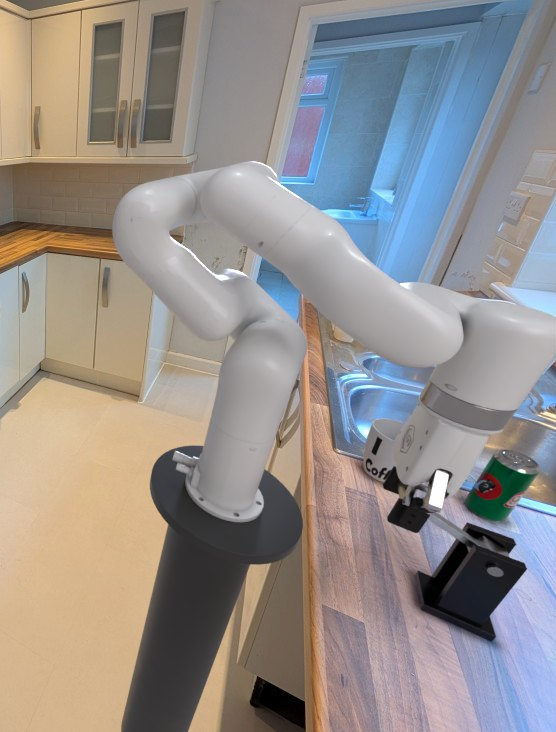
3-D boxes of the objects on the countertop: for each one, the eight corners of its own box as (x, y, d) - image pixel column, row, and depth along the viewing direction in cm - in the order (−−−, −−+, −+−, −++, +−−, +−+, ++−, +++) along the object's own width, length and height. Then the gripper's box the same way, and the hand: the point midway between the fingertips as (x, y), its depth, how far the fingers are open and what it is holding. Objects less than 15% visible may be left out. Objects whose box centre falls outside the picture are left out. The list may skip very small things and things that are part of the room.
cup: (349, 471, 82) (367, 430, 78) (359, 452, 87) (377, 412, 83) (403, 497, 76) (427, 454, 72) (411, 474, 81) (433, 433, 77)
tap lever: (396, 514, 56) (411, 505, 55) (391, 485, 61) (405, 476, 59) (498, 584, 52) (518, 577, 51) (485, 548, 57) (503, 540, 56)
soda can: (502, 528, 70) (540, 474, 65) (460, 508, 74) (493, 455, 69) (507, 513, 73) (544, 460, 68) (466, 494, 77) (499, 443, 72)
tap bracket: (420, 609, 59) (462, 547, 53) (414, 575, 63) (452, 514, 58) (492, 642, 55) (545, 578, 50) (480, 603, 60) (527, 541, 54)
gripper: (413, 363, 59) (362, 459, 67) (435, 430, 46) (368, 539, 54) (488, 382, 55) (424, 482, 63) (534, 460, 42) (447, 573, 50)
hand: (399, 507), depth 59 cm, fingers closed on tap lever, 6 cm apart
